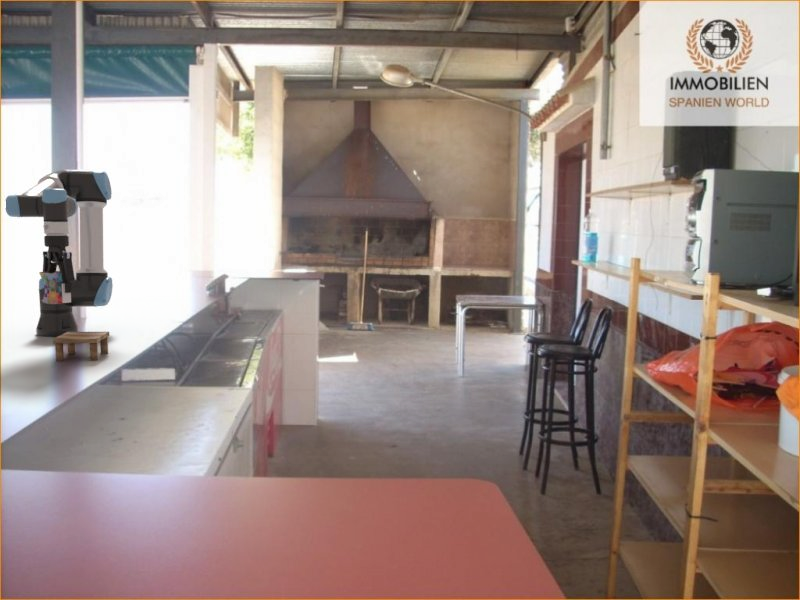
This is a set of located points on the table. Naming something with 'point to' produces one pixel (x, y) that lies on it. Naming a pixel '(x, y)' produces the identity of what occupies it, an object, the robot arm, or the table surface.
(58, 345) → the stool
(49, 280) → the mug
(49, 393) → the table surface
